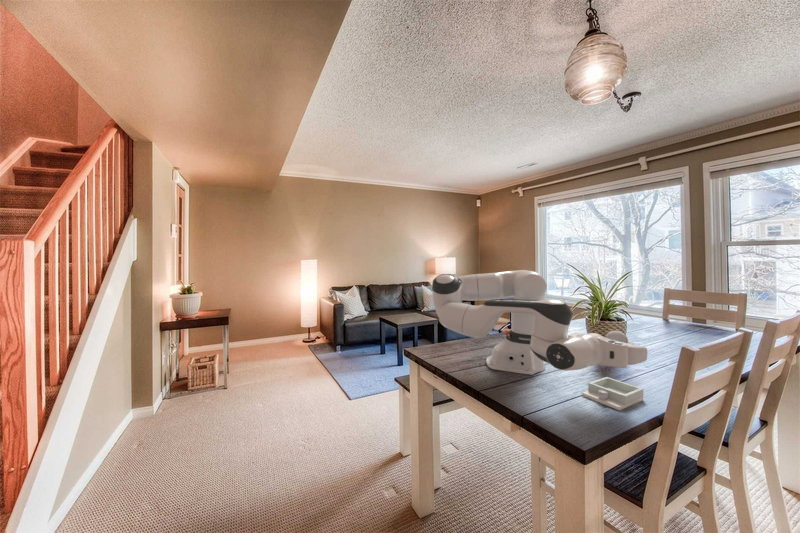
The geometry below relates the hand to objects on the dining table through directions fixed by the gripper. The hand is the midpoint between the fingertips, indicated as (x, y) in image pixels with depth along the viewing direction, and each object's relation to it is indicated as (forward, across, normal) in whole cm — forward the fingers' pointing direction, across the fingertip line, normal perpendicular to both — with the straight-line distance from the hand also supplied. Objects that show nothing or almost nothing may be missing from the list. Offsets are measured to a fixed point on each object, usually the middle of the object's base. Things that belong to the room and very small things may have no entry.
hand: (617, 342), depth 95 cm
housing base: (-2, 0, -17) cm, 17 cm away
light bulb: (-1, 0, -6) cm, 6 cm away
